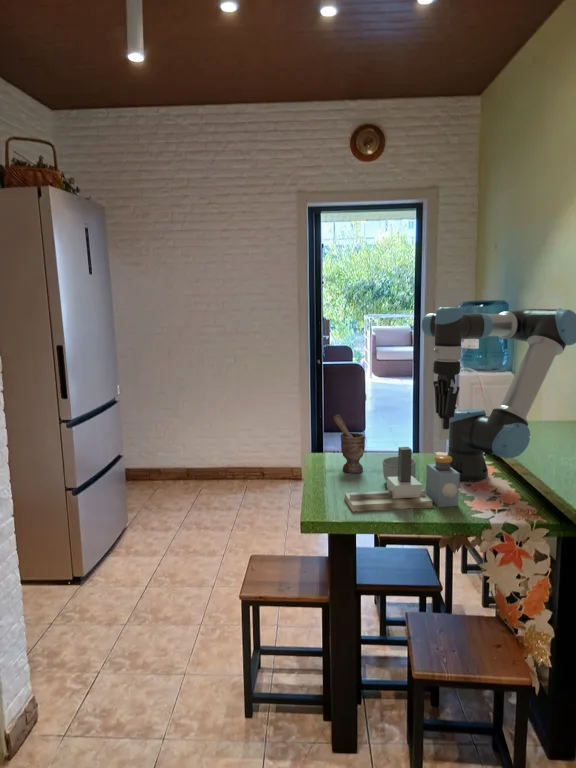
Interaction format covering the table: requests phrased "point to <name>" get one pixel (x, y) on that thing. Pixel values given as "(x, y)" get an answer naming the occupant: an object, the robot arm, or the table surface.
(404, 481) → the carriage
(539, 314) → the robot arm
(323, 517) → the table surface
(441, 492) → the blue-grey button box
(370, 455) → the table surface
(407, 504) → the rail board
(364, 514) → the table surface
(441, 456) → the button
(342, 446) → the mortar and pestle
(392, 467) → the teacup
